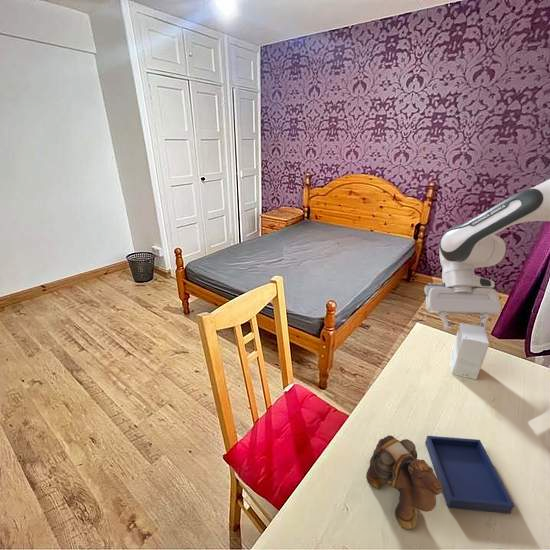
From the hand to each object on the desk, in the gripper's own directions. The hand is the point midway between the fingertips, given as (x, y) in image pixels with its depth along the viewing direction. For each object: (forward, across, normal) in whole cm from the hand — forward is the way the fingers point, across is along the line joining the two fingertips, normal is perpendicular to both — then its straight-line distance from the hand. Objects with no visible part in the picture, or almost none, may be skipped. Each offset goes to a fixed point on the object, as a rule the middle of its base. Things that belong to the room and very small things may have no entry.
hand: (465, 328), depth 90 cm
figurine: (+37, -28, -22) cm, 51 cm away
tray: (+34, -13, -18) cm, 40 cm away
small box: (+11, 0, +4) cm, 12 cm away
